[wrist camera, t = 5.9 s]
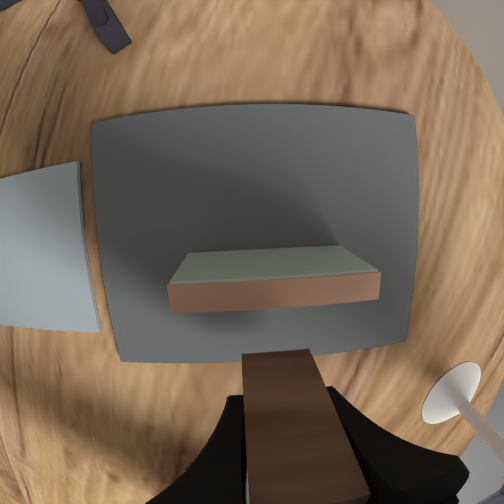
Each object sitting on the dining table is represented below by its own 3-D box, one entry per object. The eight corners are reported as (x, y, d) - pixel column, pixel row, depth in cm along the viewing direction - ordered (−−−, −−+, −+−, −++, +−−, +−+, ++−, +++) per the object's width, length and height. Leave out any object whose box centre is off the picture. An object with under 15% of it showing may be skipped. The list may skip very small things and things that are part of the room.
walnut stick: (305, 398, 14) (349, 535, 6) (244, 403, 14) (254, 549, 6) (309, 348, 13) (371, 494, 5) (241, 353, 13) (249, 514, 5)
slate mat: (402, 338, 18) (405, 341, 18) (122, 358, 17) (121, 361, 17) (411, 116, 15) (414, 115, 15) (94, 123, 14) (92, 122, 14)
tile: (339, 266, 16) (378, 299, 11) (189, 274, 16) (170, 313, 11) (340, 244, 16) (381, 269, 11) (187, 252, 16) (166, 282, 11)
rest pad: (101, 329, 17) (99, 332, 16) (-4, 322, 16) (-7, 324, 16) (79, 161, 15) (76, 161, 14) (-27, 187, 14) (-30, 187, 14)
